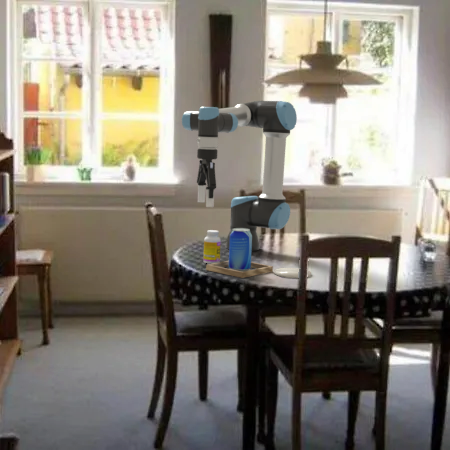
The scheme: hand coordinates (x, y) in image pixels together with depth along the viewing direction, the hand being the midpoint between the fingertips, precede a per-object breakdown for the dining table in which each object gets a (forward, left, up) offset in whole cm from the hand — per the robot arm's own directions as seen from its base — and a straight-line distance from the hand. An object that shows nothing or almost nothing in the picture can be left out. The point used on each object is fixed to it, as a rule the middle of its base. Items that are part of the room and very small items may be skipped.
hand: (205, 204), depth 300 cm
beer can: (-8, +11, -25) cm, 28 cm away
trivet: (-19, +29, -25) cm, 42 cm away
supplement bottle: (-11, -5, -25) cm, 28 cm away
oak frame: (-8, +12, -25) cm, 28 cm away
